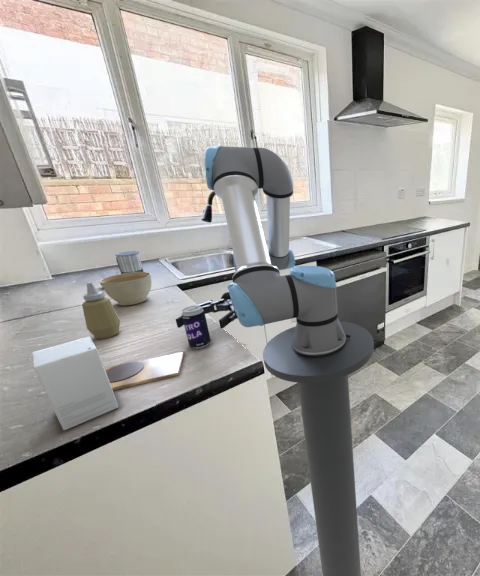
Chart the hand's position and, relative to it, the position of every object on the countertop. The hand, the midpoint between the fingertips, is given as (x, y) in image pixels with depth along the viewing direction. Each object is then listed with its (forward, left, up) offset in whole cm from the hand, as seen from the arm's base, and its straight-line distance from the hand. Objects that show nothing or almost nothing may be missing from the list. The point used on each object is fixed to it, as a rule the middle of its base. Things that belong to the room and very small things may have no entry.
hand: (199, 323), depth 92 cm
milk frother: (+39, -86, -7) cm, 94 cm away
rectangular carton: (+21, +22, -7) cm, 31 cm away
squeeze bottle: (+29, -21, -7) cm, 36 cm away
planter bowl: (+29, -54, -7) cm, 61 cm away
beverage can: (+1, +1, -7) cm, 7 cm away
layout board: (+15, +10, -6) cm, 19 cm away
